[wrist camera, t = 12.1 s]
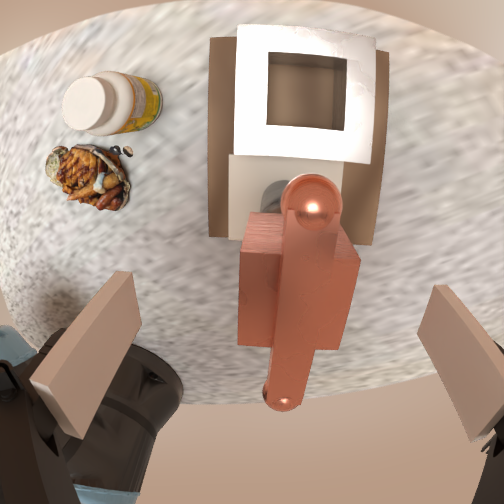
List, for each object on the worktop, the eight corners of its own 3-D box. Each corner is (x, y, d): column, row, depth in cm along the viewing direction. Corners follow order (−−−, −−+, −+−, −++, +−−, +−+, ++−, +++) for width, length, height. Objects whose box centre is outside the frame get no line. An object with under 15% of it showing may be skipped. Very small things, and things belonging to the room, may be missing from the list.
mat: (229, 237, 29) (228, 239, 28) (229, 153, 26) (228, 154, 25) (333, 243, 28) (334, 245, 28) (342, 160, 25) (343, 161, 25)
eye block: (241, 148, 25) (234, 154, 21) (244, 41, 21) (237, 24, 17) (353, 156, 25) (370, 164, 20) (358, 51, 21) (375, 37, 16)
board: (210, 232, 30) (208, 236, 29) (212, 40, 22) (210, 37, 21) (368, 241, 29) (371, 245, 28) (385, 54, 21) (389, 52, 20)
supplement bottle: (167, 79, 24) (119, 64, 15) (159, 133, 26) (110, 141, 17) (118, 79, 24) (59, 70, 15) (111, 130, 26) (52, 140, 17)
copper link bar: (261, 138, 24) (236, 173, 8) (315, 143, 24) (393, 188, 8) (255, 256, 29) (232, 415, 13) (303, 259, 29) (327, 419, 13)
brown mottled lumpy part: (50, 142, 27) (31, 146, 24) (135, 144, 27) (119, 148, 24) (51, 199, 30) (33, 207, 27) (132, 210, 30) (117, 220, 27)
